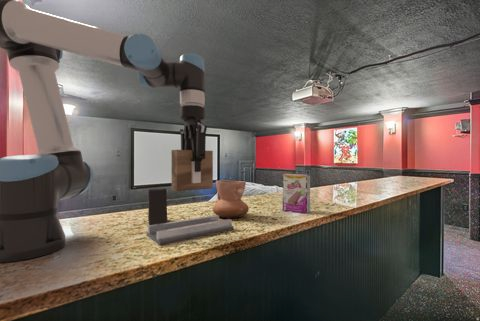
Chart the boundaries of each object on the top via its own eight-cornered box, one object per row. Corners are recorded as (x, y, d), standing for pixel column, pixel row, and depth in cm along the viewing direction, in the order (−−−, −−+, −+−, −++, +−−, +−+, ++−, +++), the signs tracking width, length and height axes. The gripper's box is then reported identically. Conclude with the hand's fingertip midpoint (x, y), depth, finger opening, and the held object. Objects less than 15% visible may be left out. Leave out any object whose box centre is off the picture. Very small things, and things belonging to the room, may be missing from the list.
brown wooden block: (212, 188, 78) (212, 150, 78) (177, 191, 71) (177, 149, 71) (206, 187, 81) (206, 151, 81) (171, 190, 74) (171, 150, 74)
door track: (159, 245, 64) (159, 233, 64) (146, 235, 73) (146, 224, 73) (233, 229, 79) (233, 220, 79) (215, 222, 88) (215, 214, 88)
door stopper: (167, 224, 85) (167, 189, 86) (148, 226, 83) (149, 190, 83) (164, 218, 94) (165, 187, 94) (148, 220, 92) (148, 187, 92)
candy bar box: (282, 211, 109) (282, 174, 109) (286, 209, 113) (286, 173, 113) (307, 214, 103) (307, 175, 103) (310, 212, 107) (310, 174, 107)
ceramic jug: (257, 218, 96) (257, 181, 96) (224, 222, 88) (224, 182, 88) (234, 211, 111) (234, 179, 111) (204, 214, 103) (204, 180, 104)
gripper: (217, 103, 72) (217, 183, 72) (190, 112, 85) (191, 180, 85) (194, 99, 67) (194, 185, 67) (170, 109, 81) (170, 181, 81)
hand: (192, 182), depth 76 cm, fingers closed on brown wooden block, 4 cm apart
